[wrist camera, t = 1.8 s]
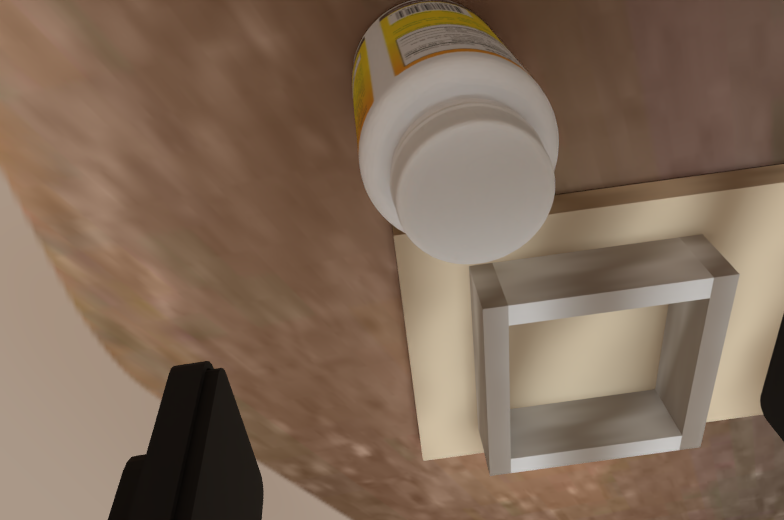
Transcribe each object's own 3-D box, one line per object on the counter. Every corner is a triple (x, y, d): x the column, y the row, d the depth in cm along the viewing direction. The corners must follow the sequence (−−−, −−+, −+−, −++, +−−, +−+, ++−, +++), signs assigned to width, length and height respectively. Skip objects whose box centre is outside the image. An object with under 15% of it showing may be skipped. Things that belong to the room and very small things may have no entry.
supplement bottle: (416, 168, 26) (457, 326, 18) (320, 68, 24) (312, 197, 15) (527, 75, 24) (631, 202, 16) (435, -43, 22) (500, 32, 13)
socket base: (994, 135, 27) (1099, 182, 24) (891, 374, 35) (957, 438, 31) (390, 217, 27) (399, 277, 24) (420, 438, 35) (430, 510, 31)
